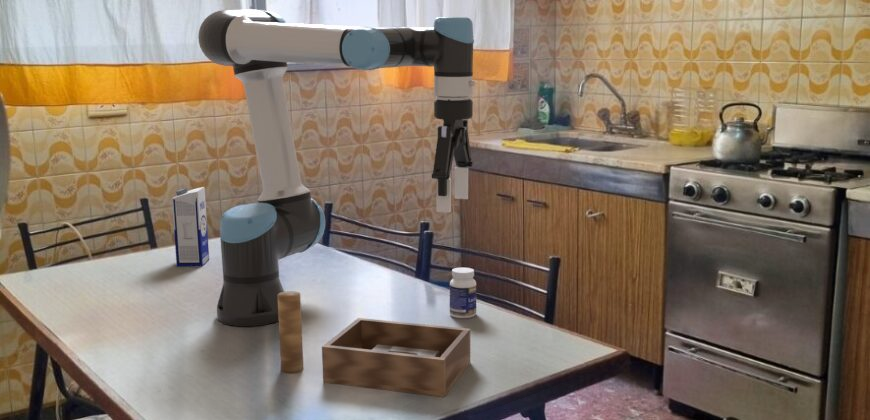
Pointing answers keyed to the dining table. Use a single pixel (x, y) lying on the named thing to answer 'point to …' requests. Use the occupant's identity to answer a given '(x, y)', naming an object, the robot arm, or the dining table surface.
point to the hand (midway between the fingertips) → (452, 205)
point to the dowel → (290, 331)
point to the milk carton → (190, 227)
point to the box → (397, 356)
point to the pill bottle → (463, 293)
